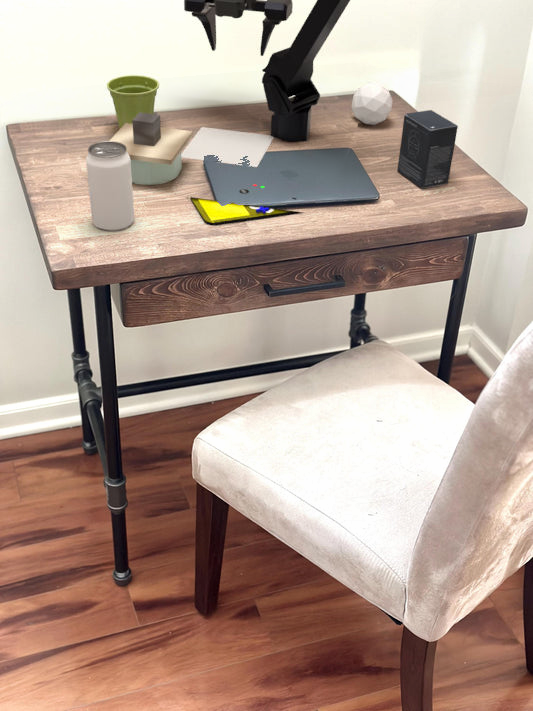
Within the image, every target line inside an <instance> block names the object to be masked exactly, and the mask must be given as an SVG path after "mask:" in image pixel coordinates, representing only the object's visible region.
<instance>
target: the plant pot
mask: <svg viewBox="0 0 533 711" xmlns="http://www.w3.org/2000/svg"><path fill="white" fill-rule="evenodd" d="M159 88H160V83H159V81H158V80H157V79H156V78H154V77H151V76H146V75H135V74H133V75H123V76H119V77H118V76H117V77H116V78H112V79H111V80H109V81H108V82H107V83H106V89H107V90H108V91H109V93H110V97H111V98H112V101H113V102H112V103H113V106H114V110H115V116H116V120H117V124H118V130H120V129H121V128H122V127H123V126H124V124H125V123H128V124H133V123H132V120H133V119H134V118H135V117H136V116H137V115H138V114H139V113H148V114H154V113H155V112H154V111H155V103H156V102H155V101H156V96H157V91H158V89H159Z"/></svg>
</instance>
